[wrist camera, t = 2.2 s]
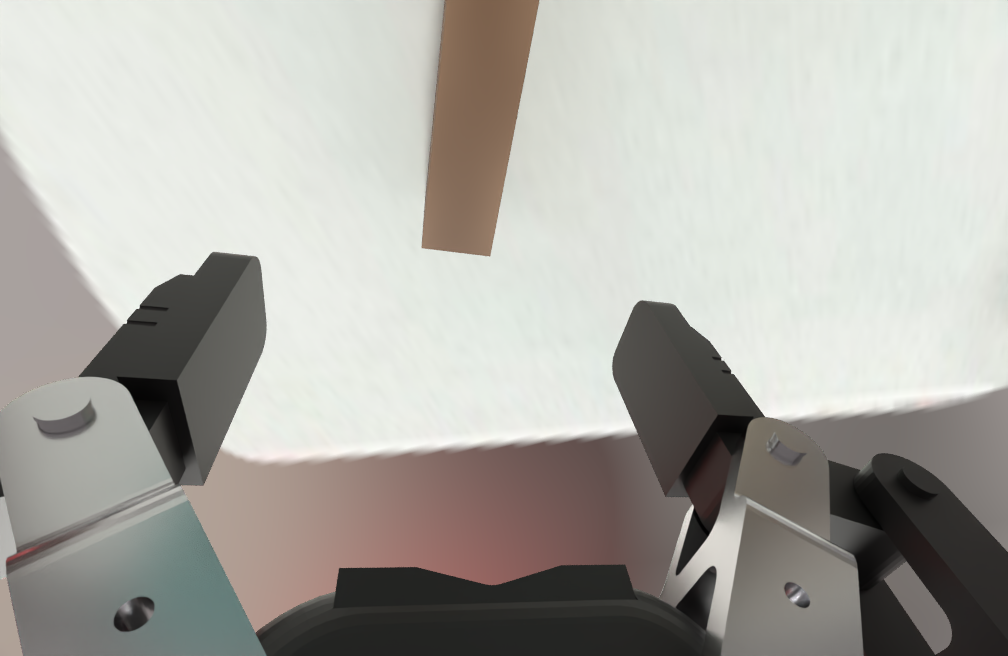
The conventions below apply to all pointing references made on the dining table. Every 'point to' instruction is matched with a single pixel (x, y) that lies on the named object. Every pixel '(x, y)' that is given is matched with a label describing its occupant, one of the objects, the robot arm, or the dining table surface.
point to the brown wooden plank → (474, 119)
